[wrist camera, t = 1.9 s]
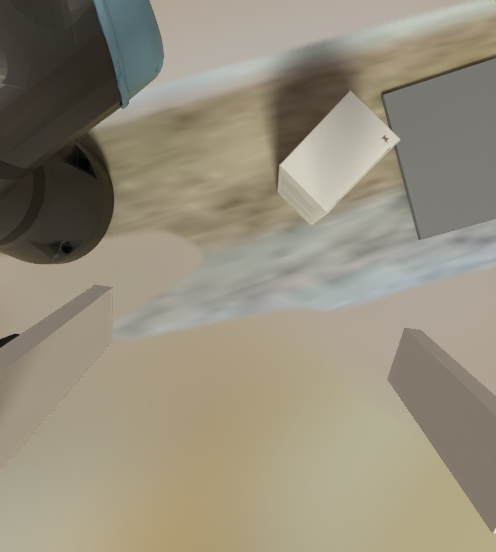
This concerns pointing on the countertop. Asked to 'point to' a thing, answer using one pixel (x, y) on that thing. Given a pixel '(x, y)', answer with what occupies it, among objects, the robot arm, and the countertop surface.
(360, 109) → the small box
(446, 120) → the slate mat
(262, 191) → the countertop surface
